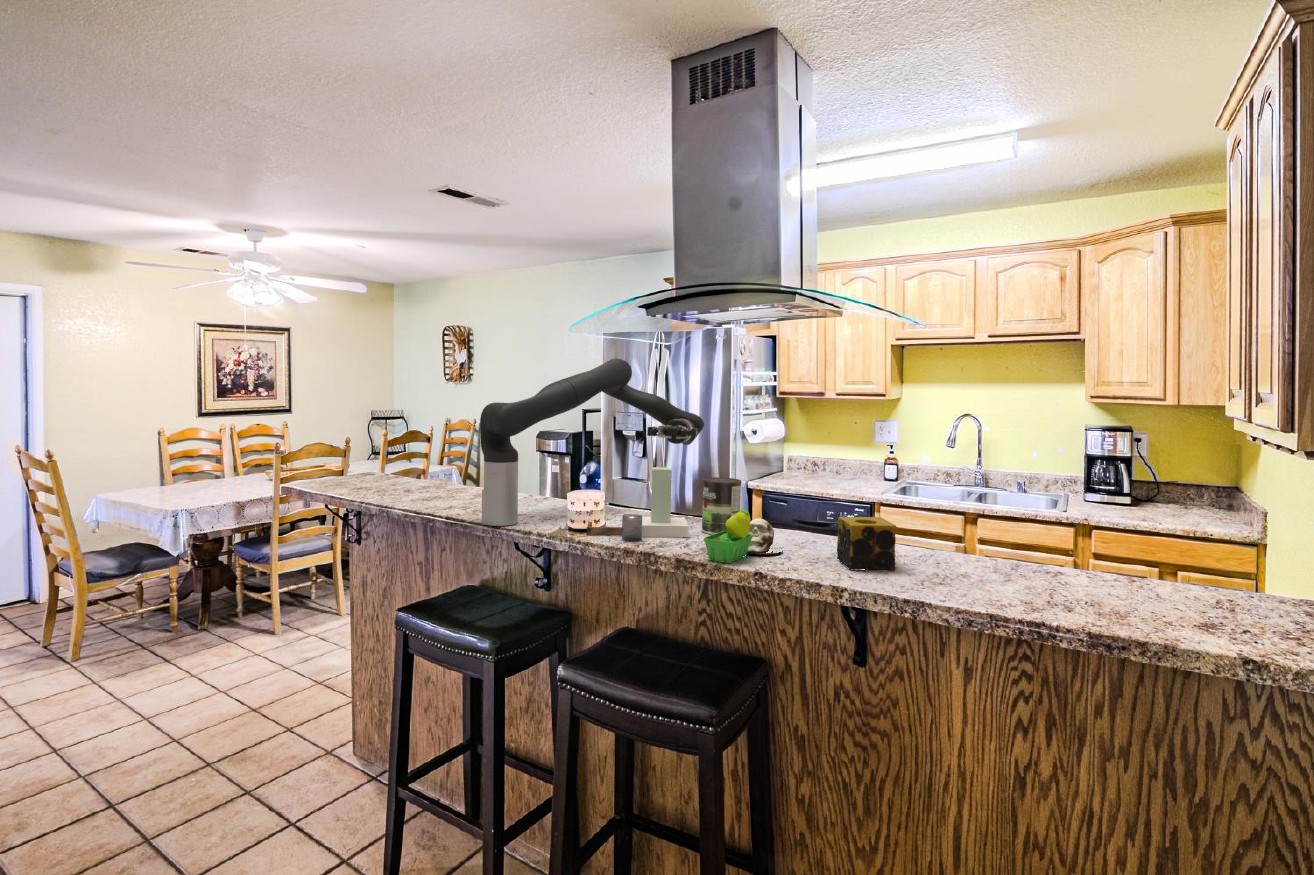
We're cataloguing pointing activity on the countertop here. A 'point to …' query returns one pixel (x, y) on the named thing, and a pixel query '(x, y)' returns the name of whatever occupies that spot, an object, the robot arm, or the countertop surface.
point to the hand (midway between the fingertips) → (667, 432)
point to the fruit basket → (730, 539)
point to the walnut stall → (603, 530)
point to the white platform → (665, 528)
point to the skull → (760, 537)
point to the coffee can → (719, 503)
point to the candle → (866, 543)
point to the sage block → (661, 495)
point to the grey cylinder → (631, 527)
